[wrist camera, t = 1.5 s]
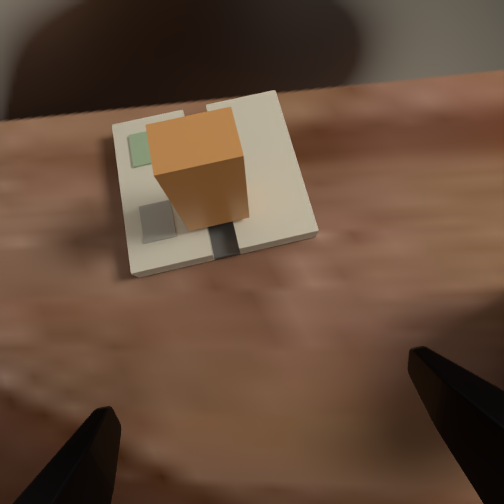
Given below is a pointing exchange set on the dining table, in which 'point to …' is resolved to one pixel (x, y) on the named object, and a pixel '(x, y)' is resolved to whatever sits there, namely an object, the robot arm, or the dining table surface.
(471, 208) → the dining table surface
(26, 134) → the dining table surface
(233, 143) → the switch knob
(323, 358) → the dining table surface
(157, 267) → the switch panel
